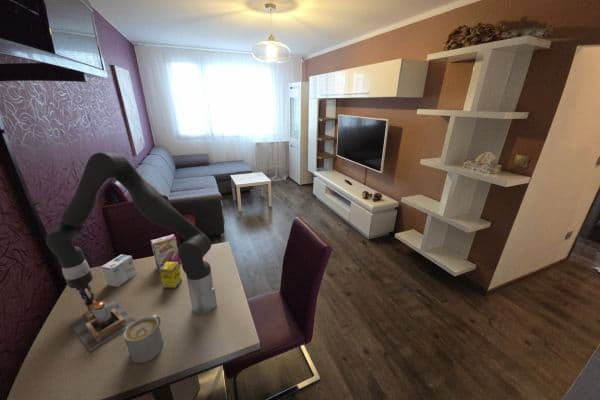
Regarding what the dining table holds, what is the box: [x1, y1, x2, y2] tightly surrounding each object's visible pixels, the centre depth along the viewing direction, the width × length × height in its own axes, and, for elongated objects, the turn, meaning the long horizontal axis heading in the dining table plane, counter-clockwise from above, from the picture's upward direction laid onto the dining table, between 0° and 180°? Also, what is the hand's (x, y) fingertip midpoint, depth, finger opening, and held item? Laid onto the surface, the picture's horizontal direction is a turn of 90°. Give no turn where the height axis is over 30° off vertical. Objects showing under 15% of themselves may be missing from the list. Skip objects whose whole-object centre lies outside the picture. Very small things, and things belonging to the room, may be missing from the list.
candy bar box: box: [150, 233, 181, 272], centre depth 129 cm, size 11×5×16 cm, turn 130°
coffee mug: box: [123, 314, 164, 364], centre depth 87 cm, size 13×10×10 cm
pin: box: [85, 300, 98, 319], centre depth 98 cm, size 11×3×4 cm, turn 56°
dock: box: [70, 300, 136, 352], centre depth 96 cm, size 20×15×4 cm
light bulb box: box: [101, 254, 137, 288], centre depth 119 cm, size 11×7×11 cm, turn 165°
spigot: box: [93, 300, 114, 331], centre depth 93 cm, size 4×4×11 cm
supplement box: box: [159, 262, 182, 290], centre depth 116 cm, size 6×6×11 cm
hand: (90, 307), depth 102 cm, fingers closed
